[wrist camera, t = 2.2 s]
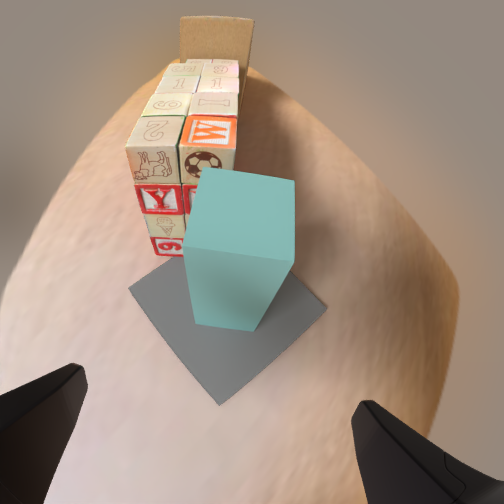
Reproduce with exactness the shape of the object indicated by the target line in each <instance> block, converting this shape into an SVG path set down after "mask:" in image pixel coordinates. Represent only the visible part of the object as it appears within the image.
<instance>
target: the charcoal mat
mask: <svg viewBox="0 0 504 504" xmlns="http://www.w3.org/2000/svg"><path fill="white" fill-rule="evenodd" d="M128 289H129V290H130V292H131V293H132V295H133V296H134V298H135V299H136V301H137V302H138V304H139V305H140V307H141V308H142V309H143V311H144V312H145V314H146V315H147V317H148V318H149V319H150V321H151V322H152V324H153V325H154V326H155V328H156V329H157V330H158V332H159V333H160V334H161V336H162V337H163V338H164V340H165V341H166V342H167V344H168V345H169V346H170V348H171V349H172V350H173V351H174V353H175V354H176V355H177V357H178V358H179V359H180V360H181V362H182V363H183V364H184V365H185V366H186V368H187V369H188V370H189V371H190V373H191V374H192V375H193V376H194V377H195V378H196V380H197V381H198V382H199V383H200V384H201V385H202V387H203V388H204V389H205V390H206V391H207V392H208V393H209V395H210V396H211V397H212V398H213V399H214V400H215V401H216V402H217V404H218V405H219V406H220V405H221V404H222V403H224V402H225V401H226V400H227V399H229V398H230V397H231V396H232V395H234V394H235V393H236V392H237V391H238V390H240V389H241V388H242V387H243V386H244V385H246V384H247V383H248V382H249V381H250V380H252V379H253V378H254V377H255V376H256V375H257V374H258V373H260V372H261V371H262V370H263V369H264V368H265V367H266V366H268V365H269V364H270V363H271V362H272V361H273V360H274V359H275V358H277V357H278V356H279V355H280V354H281V353H282V352H283V351H284V350H285V349H286V348H288V347H289V346H290V345H291V344H292V343H293V342H294V341H295V340H296V339H297V338H298V337H299V336H300V335H301V334H302V333H303V332H304V331H305V330H307V329H308V328H309V327H310V326H311V325H312V324H313V323H314V322H315V321H316V320H317V319H318V318H319V317H320V316H321V315H322V314H323V313H324V312H325V311H326V310H327V308H326V307H325V306H324V305H323V304H322V303H321V302H320V301H319V300H318V299H317V298H316V297H315V296H314V295H313V294H312V293H311V292H310V291H309V290H308V289H307V288H306V287H305V286H304V285H303V284H302V283H301V282H300V281H299V279H298V278H297V277H296V276H295V275H294V274H293V273H292V272H291V271H290V270H289V272H288V274H287V276H286V277H285V279H284V281H283V283H282V284H281V286H280V288H279V290H278V291H277V293H276V295H275V296H274V298H273V300H272V302H271V303H270V305H269V307H268V308H267V310H266V312H265V313H264V315H263V317H262V319H261V320H260V322H259V324H258V325H257V327H256V329H255V330H254V332H252V331H244V330H236V329H228V328H221V327H213V326H207V325H200V324H195V319H194V314H193V308H192V303H191V298H190V292H189V286H188V280H187V274H186V268H185V262H184V257H175V256H174V257H173V258H171V259H170V260H168V261H167V262H165V263H164V264H162V265H161V266H159V267H158V268H156V269H155V270H153V271H152V272H151V273H149V274H148V275H146V276H145V277H143V278H142V279H140V280H139V281H137V282H136V283H135V284H133V285H132V286H130V287H129V288H128Z"/></svg>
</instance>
